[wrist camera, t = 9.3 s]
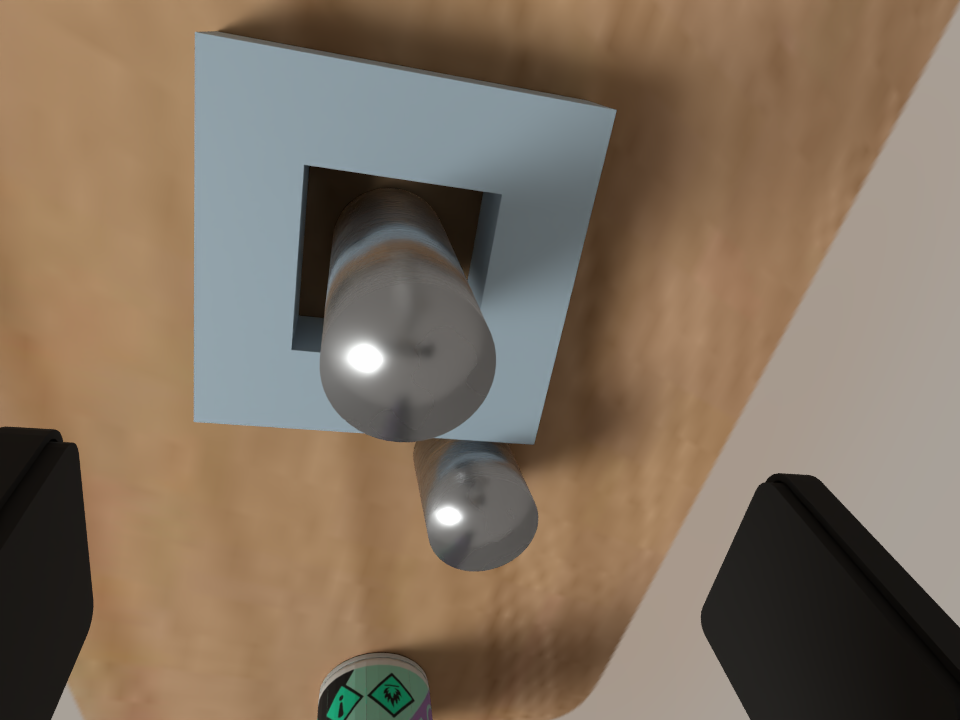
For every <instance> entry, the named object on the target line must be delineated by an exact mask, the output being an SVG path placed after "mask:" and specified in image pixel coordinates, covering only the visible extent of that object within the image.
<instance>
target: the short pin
mask: <svg viewBox="0 0 960 720" xmlns="http://www.w3.org/2000/svg"><path fill="white" fill-rule="evenodd" d="M413 460H414V466H415V471H416V476H417V481H418V486H419V492H420V497H421V502H422V507H423V512H424V517H425V522H426V527H427V532H428V538H429V542H430V545H431V547H432V549H433V551H434V552H435V554H436V555H437V556H438V557H439V558H440V559H441V560H442V561H443V562H445V563H446V564H448V565H450V566H452V567H454V568H457V569H460V570H465V571H485V570H490V569H494V568H497V567H500V566H502V565H505V564H507V563H508V562H510V561H512V560H513V559H515V558H516V557H518V556H519V555H520V554H521V553H522V552H523V551H524V550H525V549H526V548H527V547H528V545H529V544H530V543H531V541H532V539H533V537H534V535H535V533H536V530H537V526H538V511H537V507H536V505H535V502H534V500H533V498H532V495H531V493H530V491H529V489H528V487H527V484H526V482H525V480H524V478H523V475H522V473H521V471H520V469H519V467H518V464H517V462H516V460H515V458H514V455H513V453H512V451H511V449H510V447H509V444H508V443H503V442H488V441H473V440H458V439H443V438H432V439H427V440H423V441H417V442H416V444H415V447H414V453H413Z"/></svg>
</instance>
